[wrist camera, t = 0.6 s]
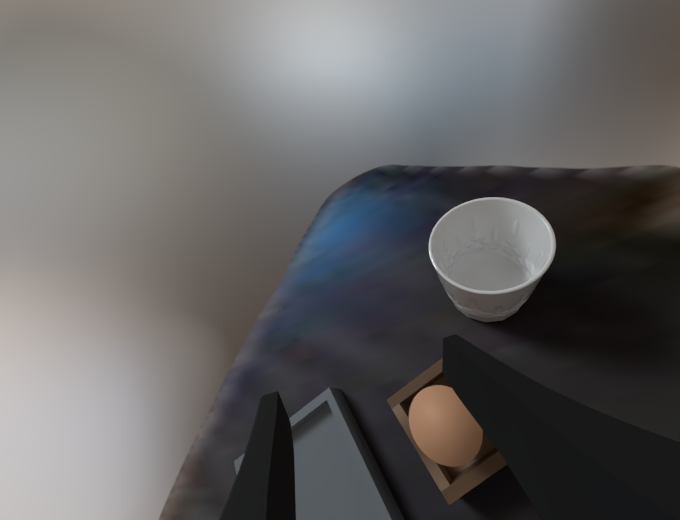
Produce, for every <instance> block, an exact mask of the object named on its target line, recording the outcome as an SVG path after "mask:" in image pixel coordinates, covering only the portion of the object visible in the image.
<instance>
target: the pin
mask: <svg viewBox="0 0 680 520" xmlns="http://www.w3.org/2000/svg"><path fill="white" fill-rule="evenodd" d="M409 426H410V430H411V433H412V436H413V438H414V440H415V442H416V444H417V445H418V447H419V448H420V449H421V451H422V452H423V453H424V454H425V455H426V456H427V457H429V458H430V459H431V460H433V461H435V462H437V463H439V464H441V465H445V466H450V467H457V466H462V465H464V464H467V463H468V462H470V461H471V460H472V459H474V457H475V456H476V455H477V453H478V452H479V450H480V447H481V444H482V438H483V430H482V428H481V427H480V426H479V424H478V423H477V422H476V420H475V419H474V418H473V416H472V415H471V414H470V412H469V411H468V410H467V408H466V407H465V406H464V404H463V403H462V402H461V400H460V399H459V398H458V396H457V395H456V393H455V392H454V390H453V388H451V387H448V386H443V385H434V386H429V387H427V388H424V389H423V390H421V391H420V392H419V393H418V394H417V395H416V396H415V397H414V399H413V401H412V403H411V406H410V410H409Z"/></svg>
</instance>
